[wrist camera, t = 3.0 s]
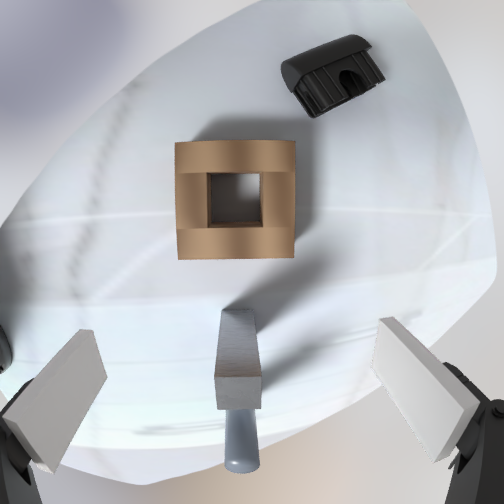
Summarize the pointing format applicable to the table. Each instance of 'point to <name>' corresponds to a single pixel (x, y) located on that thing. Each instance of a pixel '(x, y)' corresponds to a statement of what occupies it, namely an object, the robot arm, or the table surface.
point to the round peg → (241, 441)
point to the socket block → (235, 233)
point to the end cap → (331, 74)
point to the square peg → (237, 362)
